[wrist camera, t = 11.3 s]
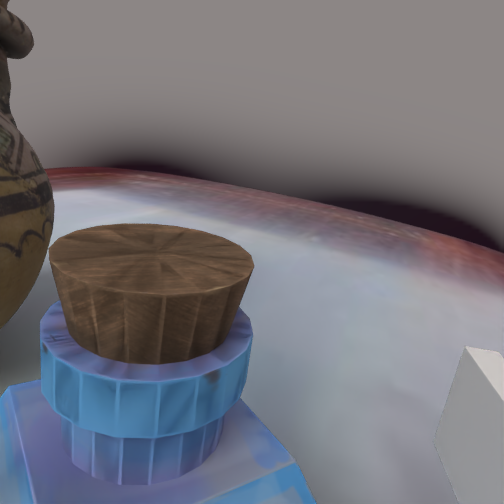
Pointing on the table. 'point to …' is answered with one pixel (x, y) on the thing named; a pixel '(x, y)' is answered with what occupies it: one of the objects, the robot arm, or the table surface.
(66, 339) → the perfume bottle
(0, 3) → the decorative pitcher
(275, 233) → the table surface
